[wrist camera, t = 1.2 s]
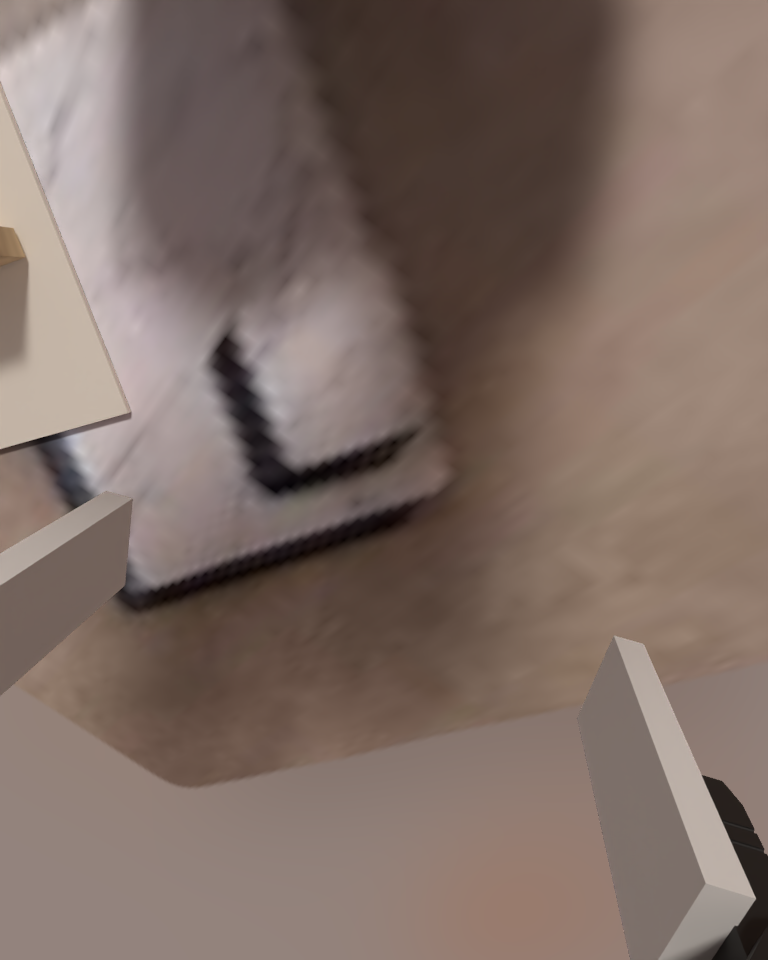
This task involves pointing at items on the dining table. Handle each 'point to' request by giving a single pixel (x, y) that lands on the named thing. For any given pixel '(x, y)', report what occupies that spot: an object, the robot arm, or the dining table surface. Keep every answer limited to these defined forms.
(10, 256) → the swing panel
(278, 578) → the dining table surface
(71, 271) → the card
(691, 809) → the robot arm
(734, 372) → the dining table surface
